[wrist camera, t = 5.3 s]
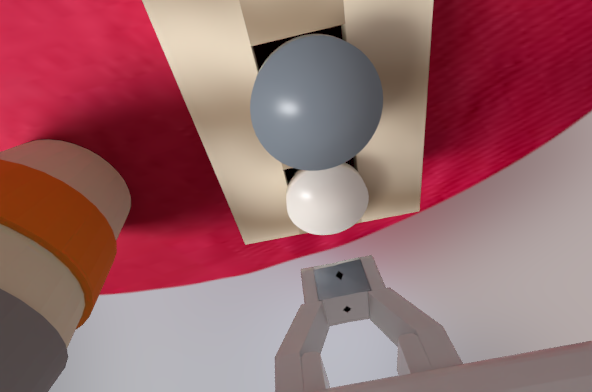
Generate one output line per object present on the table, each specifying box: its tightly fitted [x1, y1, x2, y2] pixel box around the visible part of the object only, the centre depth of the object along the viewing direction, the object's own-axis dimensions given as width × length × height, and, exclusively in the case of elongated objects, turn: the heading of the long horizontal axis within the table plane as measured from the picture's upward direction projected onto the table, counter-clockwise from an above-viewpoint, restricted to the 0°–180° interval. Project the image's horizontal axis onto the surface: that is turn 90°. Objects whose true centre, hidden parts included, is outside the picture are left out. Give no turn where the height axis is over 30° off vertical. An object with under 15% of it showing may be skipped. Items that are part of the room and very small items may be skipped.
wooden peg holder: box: [142, 0, 434, 245], centre depth 16 cm, size 19×12×6 cm, turn 11°
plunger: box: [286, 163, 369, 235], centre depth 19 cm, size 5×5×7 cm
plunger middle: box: [250, 34, 383, 171], centre depth 13 cm, size 5×5×7 cm
